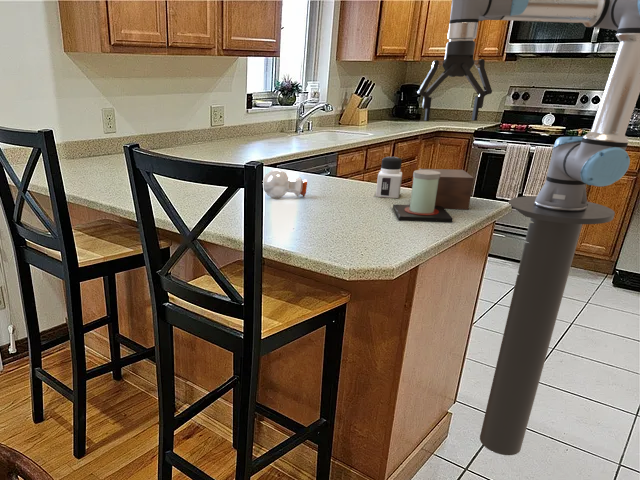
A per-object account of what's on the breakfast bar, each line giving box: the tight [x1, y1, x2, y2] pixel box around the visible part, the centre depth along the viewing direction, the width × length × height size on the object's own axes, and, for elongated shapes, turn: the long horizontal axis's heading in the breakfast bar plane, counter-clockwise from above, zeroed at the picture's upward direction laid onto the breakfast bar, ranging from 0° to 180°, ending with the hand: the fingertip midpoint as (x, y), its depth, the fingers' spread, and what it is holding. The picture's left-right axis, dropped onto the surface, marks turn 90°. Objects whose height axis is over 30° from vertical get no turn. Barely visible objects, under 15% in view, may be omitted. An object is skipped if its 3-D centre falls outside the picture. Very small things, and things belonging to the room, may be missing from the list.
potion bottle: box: [263, 169, 308, 199], centre depth 180 cm, size 9×10×15 cm
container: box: [375, 156, 403, 199], centre depth 181 cm, size 8×8×13 cm
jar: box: [409, 169, 441, 213], centre depth 157 cm, size 8×8×12 cm
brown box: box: [419, 168, 475, 210], centre depth 171 cm, size 14×14×10 cm
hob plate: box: [392, 204, 453, 223], centre depth 159 cm, size 15×15×1 cm
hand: (450, 120), depth 155 cm, fingers open, 13 cm apart
